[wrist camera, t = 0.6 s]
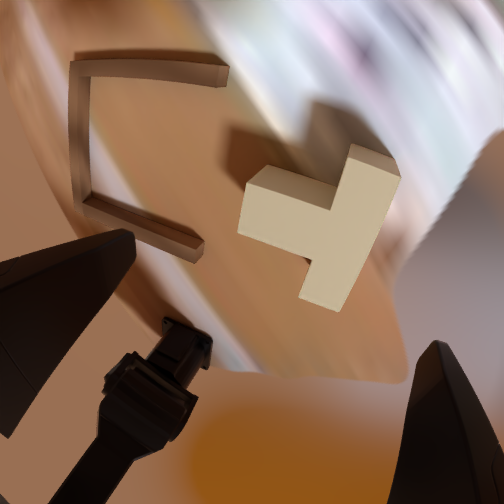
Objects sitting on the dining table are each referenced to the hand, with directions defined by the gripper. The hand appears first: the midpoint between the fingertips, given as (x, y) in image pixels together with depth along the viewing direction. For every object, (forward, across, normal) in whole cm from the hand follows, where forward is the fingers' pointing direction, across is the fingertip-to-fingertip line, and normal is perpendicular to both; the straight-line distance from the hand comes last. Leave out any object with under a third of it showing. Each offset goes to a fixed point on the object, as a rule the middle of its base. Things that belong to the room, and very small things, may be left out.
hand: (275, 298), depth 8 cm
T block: (+14, +1, +3) cm, 14 cm away
